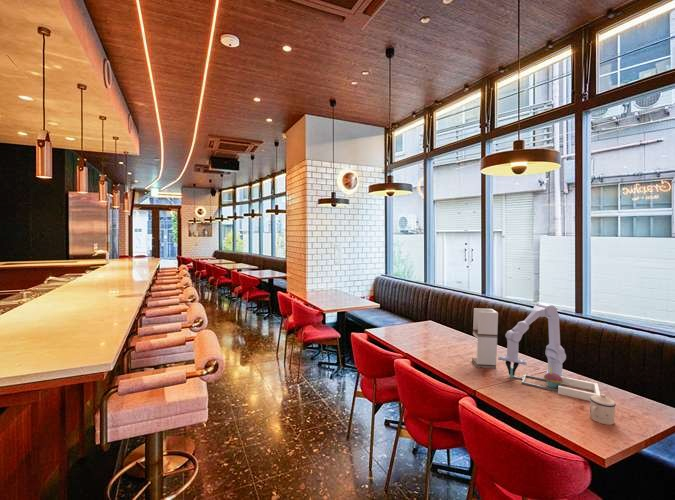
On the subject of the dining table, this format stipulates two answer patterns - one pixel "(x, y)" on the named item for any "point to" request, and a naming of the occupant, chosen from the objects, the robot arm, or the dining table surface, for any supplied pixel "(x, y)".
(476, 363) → the light grey tall block
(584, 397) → the white rectangular tray
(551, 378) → the cupcake
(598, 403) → the teacup with lid
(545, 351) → the robot arm
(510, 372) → the frame with teal handle
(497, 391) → the dining table surface
